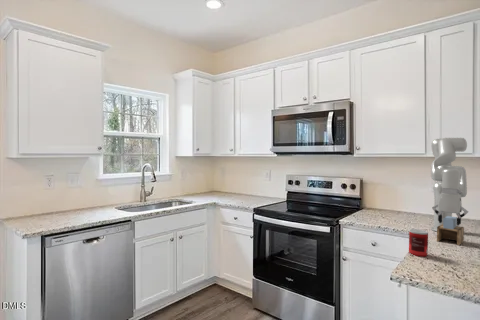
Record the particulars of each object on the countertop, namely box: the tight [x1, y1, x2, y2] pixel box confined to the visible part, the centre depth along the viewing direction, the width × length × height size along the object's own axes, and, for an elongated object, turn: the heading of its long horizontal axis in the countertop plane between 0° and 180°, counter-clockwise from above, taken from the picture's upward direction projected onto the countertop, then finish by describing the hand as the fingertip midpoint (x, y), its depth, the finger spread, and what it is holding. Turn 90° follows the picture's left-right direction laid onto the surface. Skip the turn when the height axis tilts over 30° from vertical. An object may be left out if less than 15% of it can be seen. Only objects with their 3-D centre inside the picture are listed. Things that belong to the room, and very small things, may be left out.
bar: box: [443, 216, 458, 229], centre depth 166 cm, size 12×4×5 cm, turn 137°
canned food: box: [408, 228, 429, 258], centre depth 141 cm, size 8×8×11 cm
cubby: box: [436, 224, 465, 246], centre depth 166 cm, size 12×10×8 cm
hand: (449, 223), depth 163 cm, fingers open, 7 cm apart
